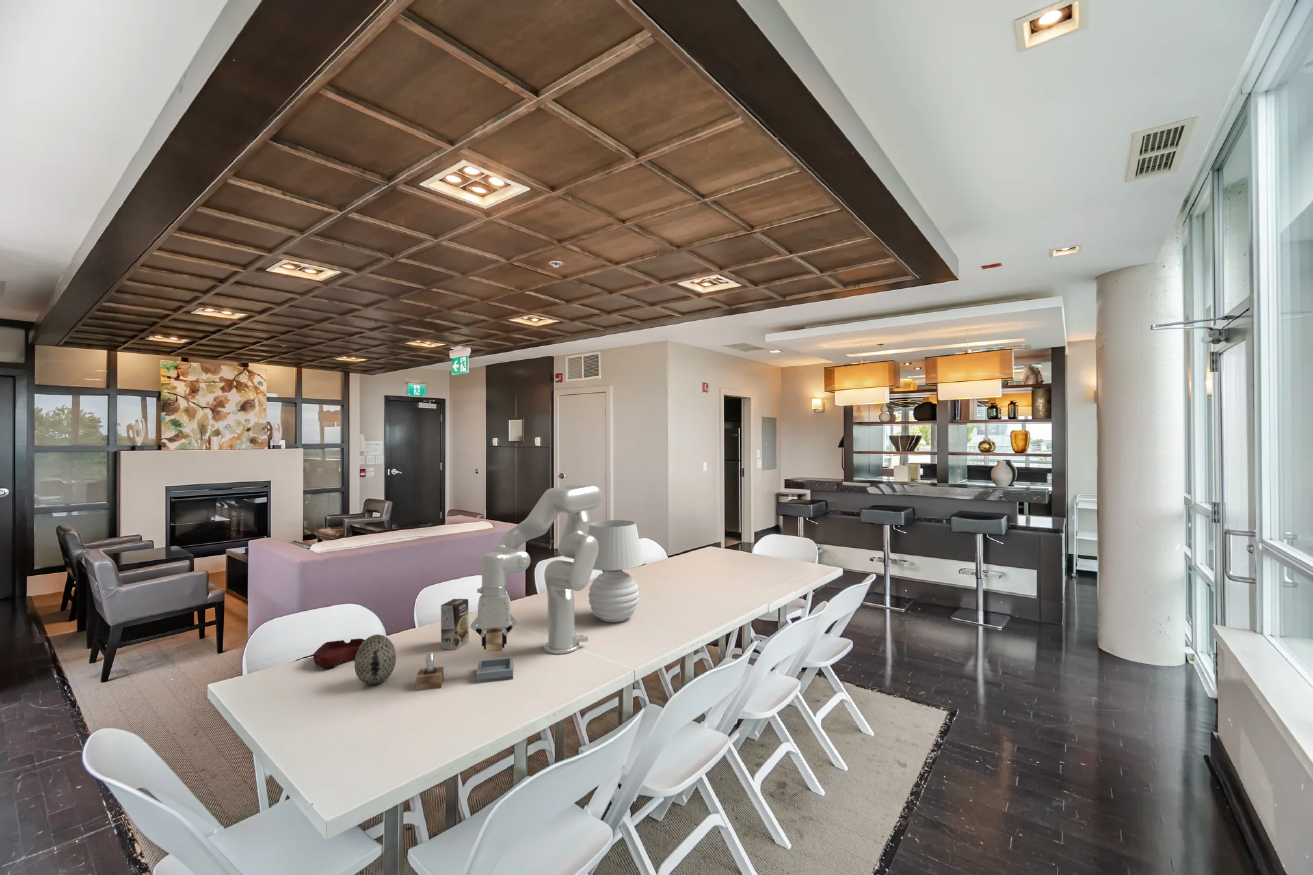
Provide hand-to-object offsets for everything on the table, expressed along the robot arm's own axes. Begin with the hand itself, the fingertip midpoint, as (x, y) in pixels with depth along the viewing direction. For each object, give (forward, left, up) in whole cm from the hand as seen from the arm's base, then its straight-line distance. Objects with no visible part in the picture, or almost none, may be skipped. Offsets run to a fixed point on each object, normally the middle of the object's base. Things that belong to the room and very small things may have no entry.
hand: (494, 646), depth 186 cm
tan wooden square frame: (+19, +2, -9) cm, 21 cm away
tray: (0, 0, -9) cm, 9 cm away
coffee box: (+15, -32, -9) cm, 36 cm away
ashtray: (+54, -29, -9) cm, 62 cm away
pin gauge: (+19, +2, -9) cm, 21 cm away
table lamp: (-47, -46, -9) cm, 66 cm away
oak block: (0, 0, -1) cm, 1 cm away
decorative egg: (+36, -4, -9) cm, 38 cm away
